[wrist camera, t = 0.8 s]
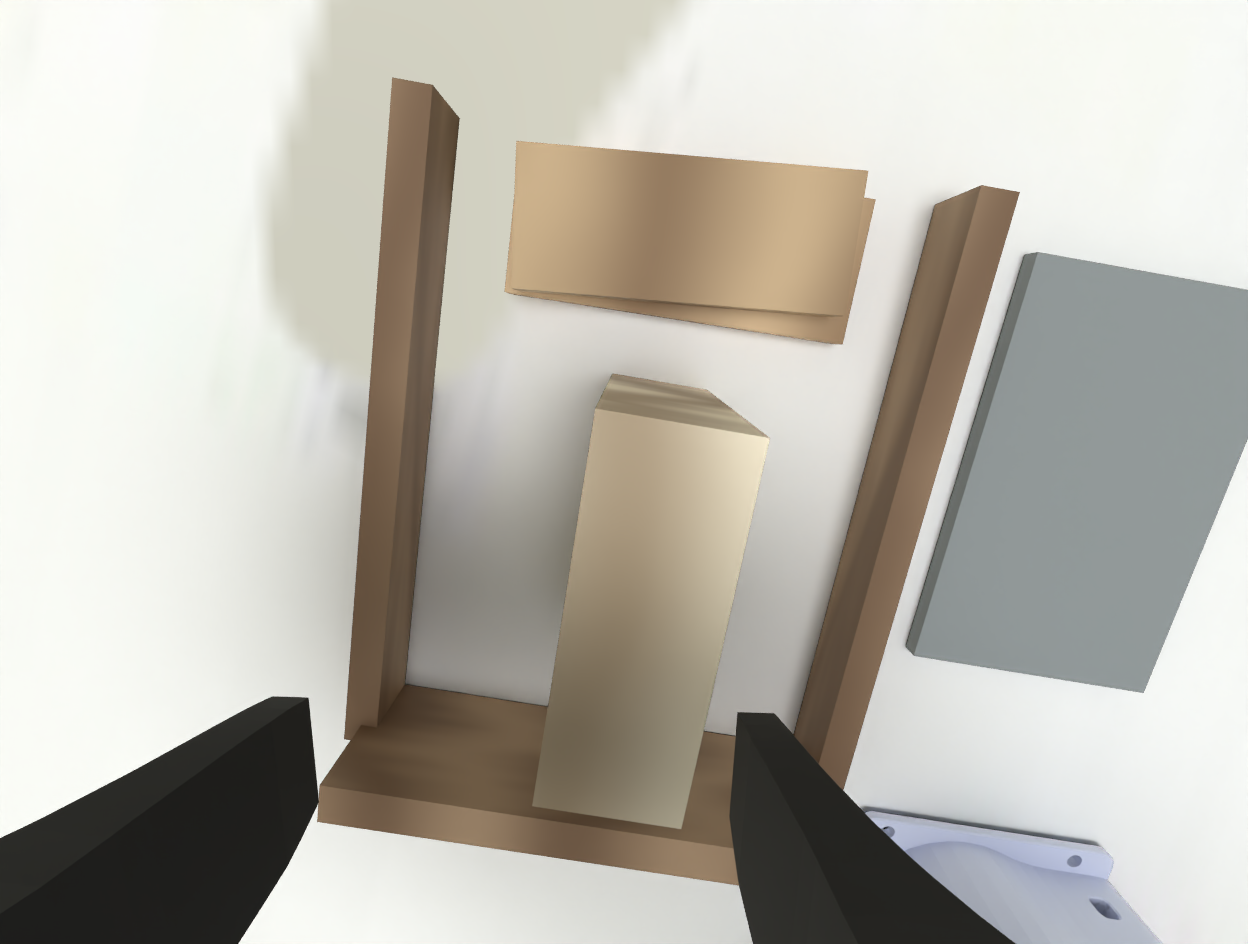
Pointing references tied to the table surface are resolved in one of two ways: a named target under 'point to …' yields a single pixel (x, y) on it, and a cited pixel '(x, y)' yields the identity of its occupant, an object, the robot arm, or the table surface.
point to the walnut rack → (513, 732)
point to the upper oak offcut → (685, 229)
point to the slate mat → (1089, 474)
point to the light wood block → (647, 600)
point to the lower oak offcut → (732, 318)
